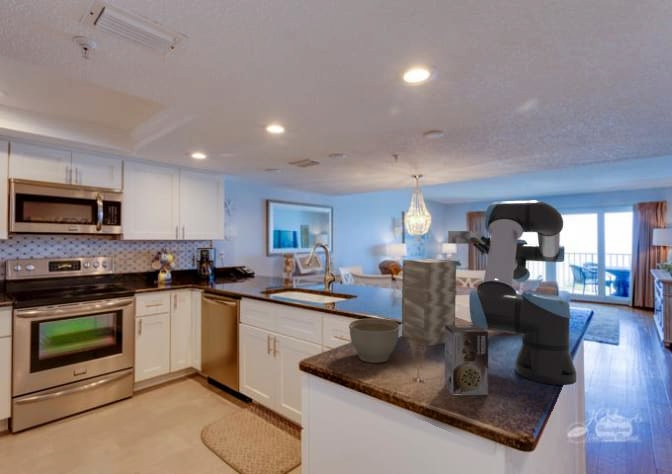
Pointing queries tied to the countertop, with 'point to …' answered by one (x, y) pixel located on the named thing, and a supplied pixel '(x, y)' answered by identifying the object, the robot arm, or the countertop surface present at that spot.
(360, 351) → the planter bowl
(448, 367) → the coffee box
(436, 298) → the birch shelf
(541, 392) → the countertop surface
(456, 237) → the brown box and bar
